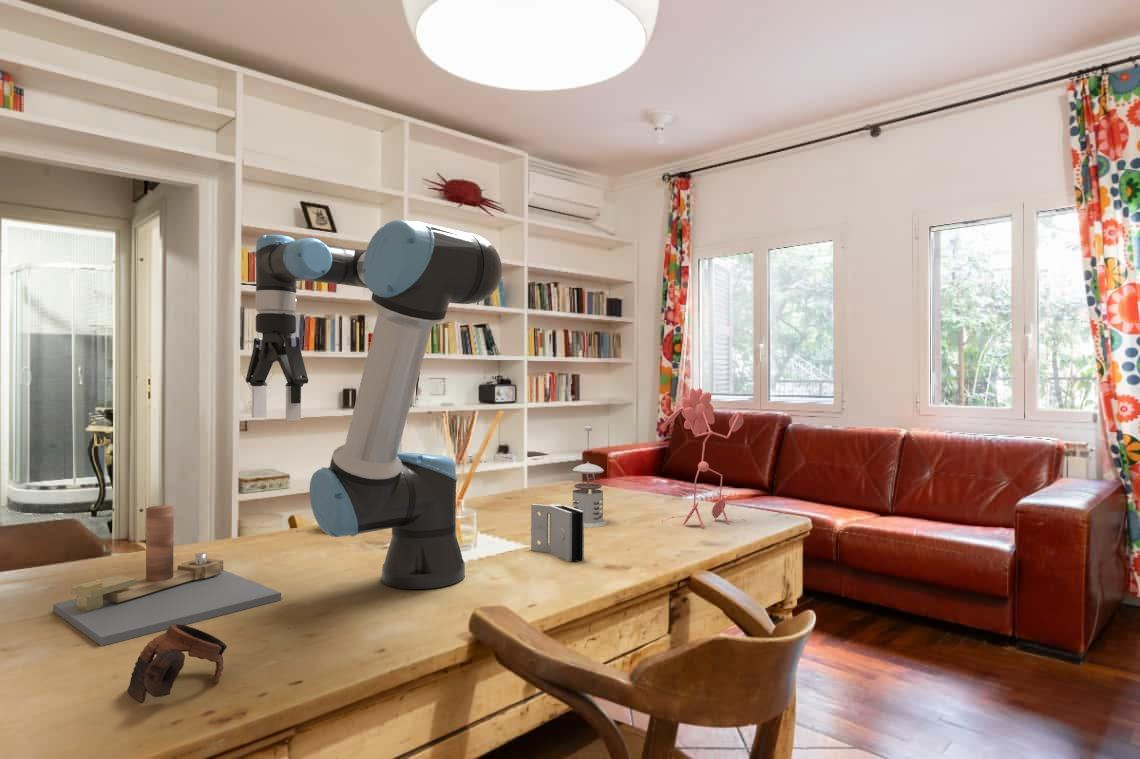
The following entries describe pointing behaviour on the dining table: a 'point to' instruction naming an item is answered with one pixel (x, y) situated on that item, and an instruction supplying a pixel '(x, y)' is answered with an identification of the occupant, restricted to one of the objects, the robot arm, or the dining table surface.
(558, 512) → the hinge
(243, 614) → the dining table surface
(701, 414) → the pink stick figure
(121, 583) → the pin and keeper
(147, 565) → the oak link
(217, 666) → the brown curved piece
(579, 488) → the french press
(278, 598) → the charcoal board
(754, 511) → the dining table surface
